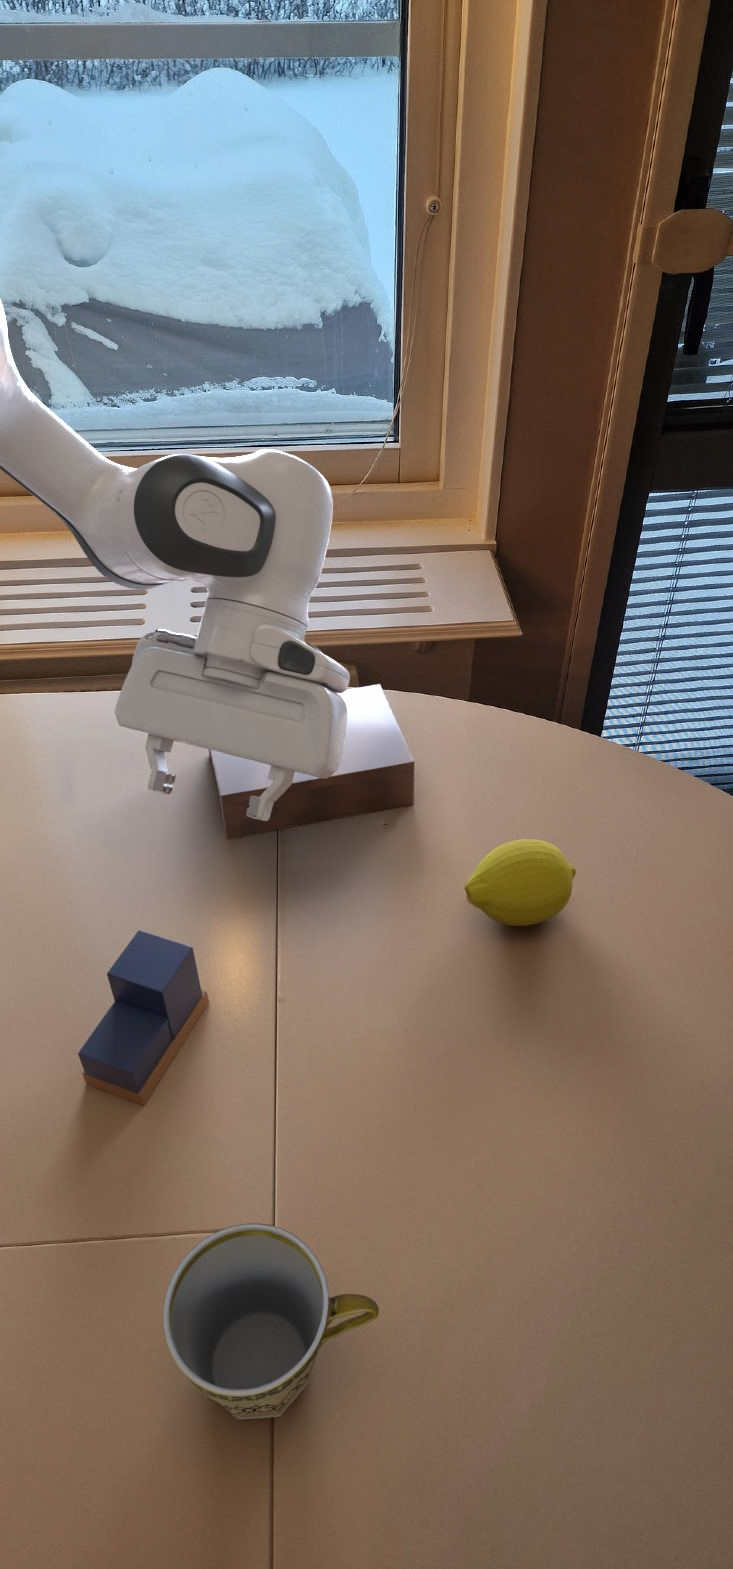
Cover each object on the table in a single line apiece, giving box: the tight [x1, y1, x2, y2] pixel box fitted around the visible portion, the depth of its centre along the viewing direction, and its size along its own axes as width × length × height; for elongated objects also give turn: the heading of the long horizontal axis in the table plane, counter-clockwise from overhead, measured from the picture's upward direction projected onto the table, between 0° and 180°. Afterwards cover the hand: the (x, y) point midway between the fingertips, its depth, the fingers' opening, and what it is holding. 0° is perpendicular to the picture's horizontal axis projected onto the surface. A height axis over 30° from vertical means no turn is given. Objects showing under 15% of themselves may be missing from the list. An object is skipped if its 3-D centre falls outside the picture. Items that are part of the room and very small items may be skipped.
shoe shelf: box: [207, 683, 415, 840], centre depth 111 cm, size 20×14×6 cm
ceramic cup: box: [162, 1222, 380, 1420], centre depth 66 cm, size 13×10×10 cm
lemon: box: [463, 838, 577, 927], centre depth 96 cm, size 11×8×8 cm
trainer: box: [77, 929, 210, 1106], centre depth 85 cm, size 11×6×8 cm, turn 158°
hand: (207, 805), depth 88 cm, fingers open, 8 cm apart
